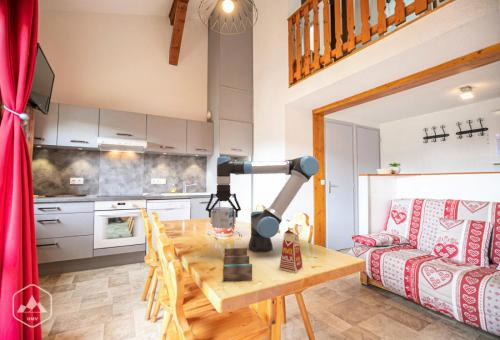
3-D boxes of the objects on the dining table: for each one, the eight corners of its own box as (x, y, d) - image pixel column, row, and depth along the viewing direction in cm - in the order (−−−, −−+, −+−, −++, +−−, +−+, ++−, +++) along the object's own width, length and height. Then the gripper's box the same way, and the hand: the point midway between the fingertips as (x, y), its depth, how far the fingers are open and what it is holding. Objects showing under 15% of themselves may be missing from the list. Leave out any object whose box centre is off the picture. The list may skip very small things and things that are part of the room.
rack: (246, 259, 133) (246, 246, 133) (252, 280, 104) (252, 264, 105) (224, 260, 132) (224, 247, 132) (223, 281, 103) (223, 265, 103)
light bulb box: (234, 226, 137) (234, 207, 138) (229, 229, 131) (229, 208, 131) (217, 225, 141) (217, 206, 142) (211, 227, 135) (211, 207, 135)
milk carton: (296, 273, 112) (296, 228, 113) (278, 269, 117) (277, 227, 118) (303, 267, 120) (303, 225, 121) (286, 264, 125) (285, 224, 125)
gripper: (245, 184, 141) (245, 222, 140) (202, 184, 140) (202, 222, 139) (245, 184, 134) (245, 224, 133) (200, 184, 133) (200, 224, 132)
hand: (223, 223), depth 136 cm, fingers closed on light bulb box, 12 cm apart
